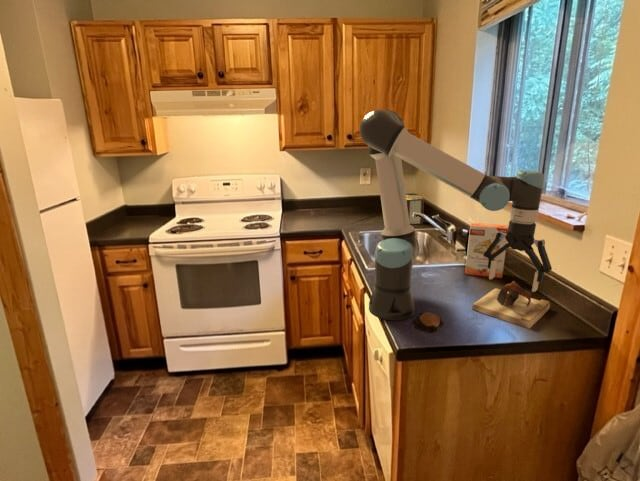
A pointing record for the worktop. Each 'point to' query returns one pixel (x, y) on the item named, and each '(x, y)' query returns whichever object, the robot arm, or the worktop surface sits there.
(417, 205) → the protein box
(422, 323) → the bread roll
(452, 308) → the worktop surface
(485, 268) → the cracker box
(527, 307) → the folded beige towel
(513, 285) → the pottery mug
